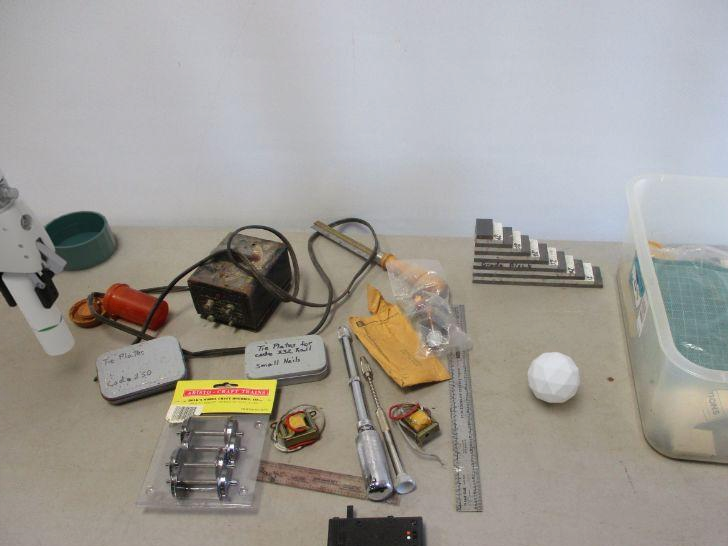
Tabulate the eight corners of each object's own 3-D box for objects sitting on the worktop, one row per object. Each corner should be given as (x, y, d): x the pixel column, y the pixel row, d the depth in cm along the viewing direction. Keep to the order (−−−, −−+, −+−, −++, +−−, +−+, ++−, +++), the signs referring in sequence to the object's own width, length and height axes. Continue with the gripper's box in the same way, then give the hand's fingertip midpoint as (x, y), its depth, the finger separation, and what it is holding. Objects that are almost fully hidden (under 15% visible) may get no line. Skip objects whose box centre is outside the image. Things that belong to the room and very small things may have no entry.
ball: (538, 410, 93) (515, 392, 88) (544, 364, 97) (523, 344, 91) (585, 412, 89) (564, 393, 83) (589, 363, 92) (570, 341, 87)
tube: (38, 352, 91) (-6, 280, 80) (56, 332, 94) (16, 260, 83) (63, 358, 90) (22, 286, 80) (80, 338, 93) (43, 266, 83)
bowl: (39, 269, 113) (27, 246, 109) (68, 231, 122) (57, 209, 118) (101, 271, 113) (91, 249, 109) (125, 233, 122) (116, 211, 118)
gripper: (57, 181, 75) (103, 286, 88) (-73, 175, 75) (-9, 281, 88) (28, 216, 70) (81, 323, 82) (-113, 209, 70) (-38, 316, 83)
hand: (34, 300), depth 85 cm, fingers closed on tube, 4 cm apart
